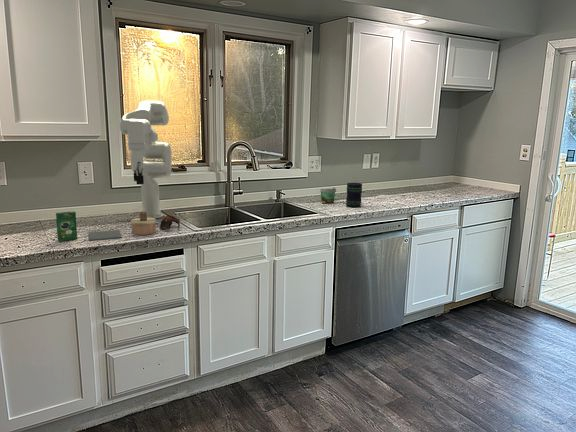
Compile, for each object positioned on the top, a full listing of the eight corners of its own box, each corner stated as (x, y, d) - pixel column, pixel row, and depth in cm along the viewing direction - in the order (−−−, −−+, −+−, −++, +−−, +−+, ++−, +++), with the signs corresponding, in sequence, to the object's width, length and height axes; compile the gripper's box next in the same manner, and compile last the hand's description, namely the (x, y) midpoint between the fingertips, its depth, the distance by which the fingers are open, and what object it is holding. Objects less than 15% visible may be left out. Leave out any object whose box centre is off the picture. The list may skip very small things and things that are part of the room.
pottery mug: (158, 227, 238) (165, 213, 240) (175, 234, 240) (182, 220, 241) (157, 227, 227) (164, 212, 228) (175, 235, 229) (182, 220, 230)
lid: (129, 220, 228) (129, 210, 227) (154, 218, 233) (153, 208, 232) (132, 226, 217) (131, 215, 216) (158, 224, 222) (157, 213, 221)
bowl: (131, 230, 229) (130, 220, 228) (154, 228, 233) (153, 219, 232) (133, 236, 219) (133, 226, 218) (157, 234, 223) (156, 224, 222)
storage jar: (343, 205, 301) (344, 183, 298) (355, 204, 305) (357, 182, 302) (350, 208, 292) (352, 185, 289) (364, 207, 296) (365, 184, 293)
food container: (325, 205, 301) (326, 190, 299) (319, 203, 306) (320, 188, 304) (339, 203, 308) (340, 188, 306) (333, 201, 313) (334, 187, 311)
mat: (88, 233, 222) (88, 232, 222) (119, 230, 228) (119, 229, 228) (89, 240, 210) (89, 239, 210) (121, 238, 215) (121, 236, 215)
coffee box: (75, 237, 215) (73, 210, 212) (78, 238, 213) (75, 211, 210) (57, 240, 209) (54, 212, 206) (59, 242, 207) (57, 213, 204)
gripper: (126, 145, 223) (128, 180, 227) (130, 148, 208) (132, 185, 212) (142, 145, 226) (144, 179, 230) (147, 148, 211) (149, 185, 215)
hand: (138, 182), depth 221 cm, fingers open, 9 cm apart
